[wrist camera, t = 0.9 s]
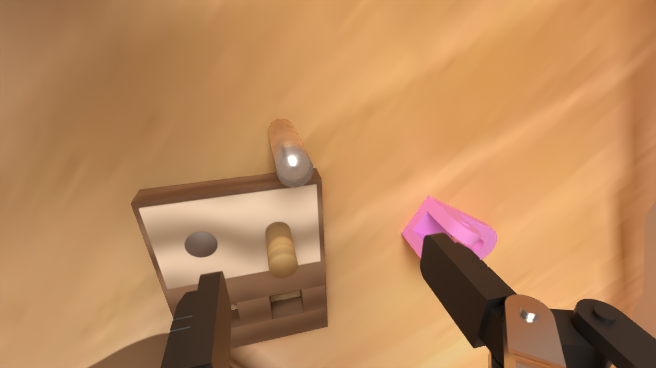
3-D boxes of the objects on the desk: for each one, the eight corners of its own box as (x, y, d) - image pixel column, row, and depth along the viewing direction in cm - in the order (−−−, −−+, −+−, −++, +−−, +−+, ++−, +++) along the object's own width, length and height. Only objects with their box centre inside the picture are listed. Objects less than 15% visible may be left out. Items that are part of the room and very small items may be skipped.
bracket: (400, 232, 37) (430, 272, 31) (427, 194, 36) (464, 228, 30) (471, 260, 43) (508, 299, 37) (497, 228, 41) (540, 263, 35)
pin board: (139, 189, 28) (106, 241, 21) (315, 167, 31) (335, 206, 24) (191, 338, 37) (179, 407, 30) (323, 310, 40) (339, 367, 33)
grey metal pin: (266, 120, 28) (275, 156, 20) (293, 117, 28) (312, 152, 20) (269, 145, 29) (279, 189, 21) (295, 142, 29) (314, 185, 21)
